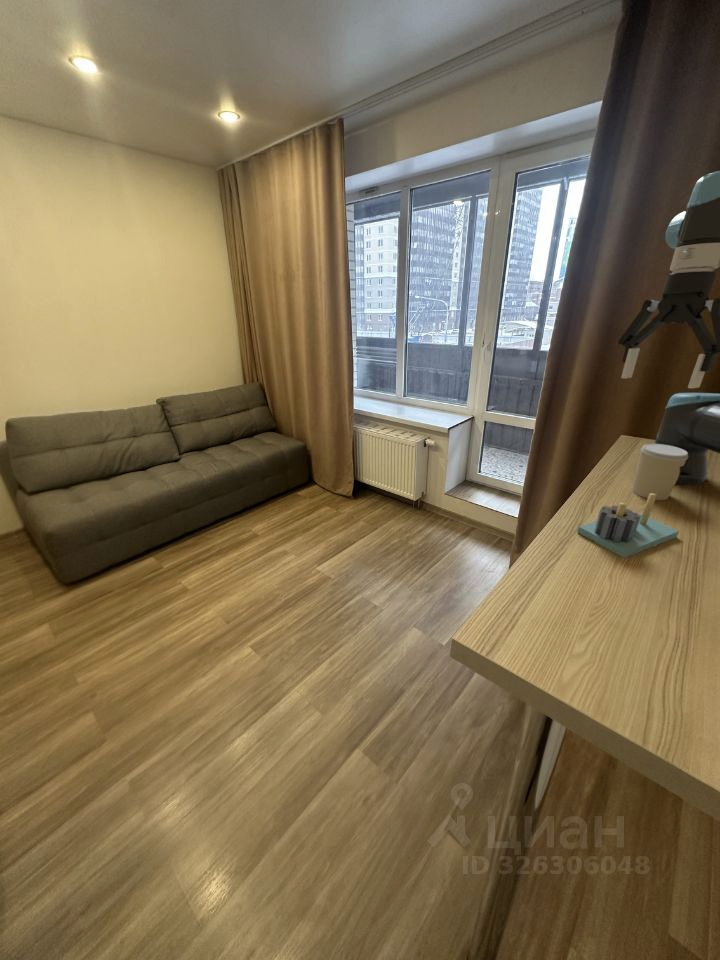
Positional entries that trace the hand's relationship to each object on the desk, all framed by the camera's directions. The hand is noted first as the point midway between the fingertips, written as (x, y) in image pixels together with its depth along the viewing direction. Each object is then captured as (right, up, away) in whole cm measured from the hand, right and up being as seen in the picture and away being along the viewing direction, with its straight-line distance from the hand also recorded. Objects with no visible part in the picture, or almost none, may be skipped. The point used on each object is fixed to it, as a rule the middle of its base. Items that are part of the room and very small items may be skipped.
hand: (657, 382), depth 82 cm
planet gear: (-14, -32, -5) cm, 36 cm away
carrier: (-9, -33, -3) cm, 34 cm away
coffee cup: (+10, -25, +15) cm, 31 cm away
